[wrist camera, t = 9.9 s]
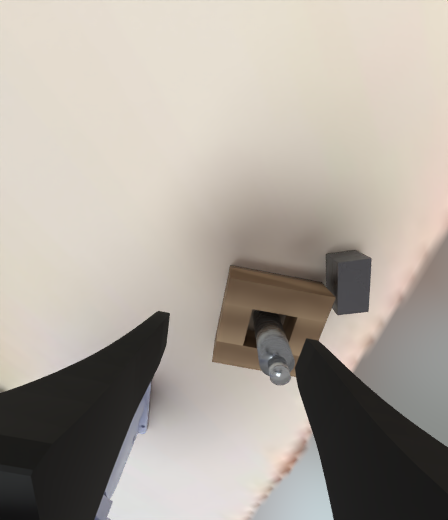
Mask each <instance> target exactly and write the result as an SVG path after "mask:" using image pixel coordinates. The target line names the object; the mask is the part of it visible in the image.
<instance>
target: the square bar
mask: <svg viewBox="0 0 448 520" xmlns="http://www.w3.org/2000/svg"><path fill="white" fill-rule="evenodd" d="M370 276H371V258H370V257H368V256H366V255H364V254H362V253H360V252H358V251H356V250H351V251H344V252H337V253H330V254H326V288H327V289H328V290H329V291H330V292H331V293H332V294H333V295H334V296H335V297H336V298H335V301H334V303H333V306H332V309H333V310H334V311H335V312H336V314H337V315H343V314H352V313H361V312H368V310H369V293H370Z"/></svg>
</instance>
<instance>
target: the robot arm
mask: <svg viewBox="0 0 448 520" xmlns="http://www.w3.org/2000/svg"><path fill="white" fill-rule="evenodd" d="M169 316H170V313H166V312H161V311H158V312H156V313H155V314H153V315H152V316H151V317H149V318H148V319H147V320H145V321H144V322H143V323H141V324H140V325H139V326H137V327H136V328H135V329H133V330H132V331H130V332H129V333H127V334H126V335H125V336H123V337H121V338H120V339H118V340H117V341H115V342H114V343H112V344H110V345H109V346H107V347H105V348H104V349H102V350H100V351H99V352H97V353H95V354H93V355H91V356H89V357H87V358H85V359H83V360H81V361H79V362H77V363H75V364H73V365H71V366H68V367H66V368H64V369H62V370H60V371H58V372H55V373H53V374H50V375H48V376H46V377H43V378H41V379H38V380H36V381H33V382H30V383H28V384H25V385H23V386H20V387H17V388H14V389H11V390H8V391H5V392H2V393H0V520H110V519H109V518H107V515H108V513H109V510H110V508H111V505H112V501H111V500H110V498H111V496H112V494H113V493H114V491H115V489H116V487H117V484H118V482H119V479H120V477H121V474H122V472H123V469H124V467H125V464H126V462H127V459H128V456H129V454H130V451H131V449H132V446H133V444H134V441H135V439H136V436H137V434H138V433H141V434H144V433H146V431H147V424H148V413H149V401H150V390H151V380H152V378H153V376H154V374H155V372H156V370H157V368H158V366H159V364H160V361H161V358H162V356H163V353H164V350H165V347H166V343H167V334H168V325H169ZM295 373H296V378H297V383H298V388H299V392H300V395H301V398H302V401H303V404H304V407H305V410H306V413H307V416H308V419H309V423H310V426H311V429H312V432H313V435H314V438H315V441H316V444H317V448H318V451H319V455H320V459H321V463H322V467H323V472H324V476H325V480H326V485H327V490H328V494H329V499H330V504H331V508H332V513H333V518H334V520H448V447H447V446H445V445H444V444H442V443H440V442H439V441H438V440H436V439H435V438H433V437H432V436H431V435H429V434H428V433H426V432H425V431H424V430H422V429H421V428H419V427H418V426H416V425H415V424H414V423H412V422H411V421H410V420H408V419H407V418H405V417H404V416H403V415H402V414H400V413H399V412H398V411H397V410H395V409H394V408H393V407H392V406H390V405H389V404H388V403H386V402H385V401H384V400H383V399H381V398H380V397H379V396H378V395H377V394H376V393H375V392H373V391H372V390H371V389H370V388H369V387H368V386H366V385H365V384H364V383H363V382H362V381H361V380H360V379H359V378H358V377H356V376H355V375H354V374H353V373H352V372H351V371H350V370H349V369H348V368H347V367H346V366H345V365H344V364H343V363H342V362H341V361H339V360H338V359H337V358H336V357H335V356H334V355H333V354H332V353H331V352H330V351H329V350H328V349H327V348H326V347H325V346H324V345H323V344H321V343H320V342H319V341H318V340H313V339H308V338H306V340H305V343H304V345H303V348H302V350H301V353H300V356H299V358H298V361H297V364H296V366H295Z"/></svg>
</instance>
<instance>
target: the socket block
mask: <svg viewBox="0 0 448 520" xmlns="http://www.w3.org/2000/svg"><path fill="white" fill-rule="evenodd" d="M335 298H336V297H335V296H334V295H333V294H332V293H331V292H330V291H329V290H328V289H327V288H326V287H325V286H324V284H323V283H322V282H317V281H312V280H306V279H301V278H296V277H290V276H285V275H280V274H274V273H269V272H264V271H258V270H253V269H248V268H242V267H237V266H232V265H230V269H229V274H228V279H227V284H226V288H225V293H224V298H223V303H222V308H221V313H220V318H219V322H218V327H217V332H216V337H215V343H214V351H213V358H212V362H216V363H222V364H227V365H233V366H238V367H244V368H250V369H255V370H261V369H260V366H259V359H258V351H257V344H256V337H255V330H254V323H253V313H254V311H255V310H260V311H266V312H271V313H277V314H279V317H280V320H281V323H282V326H283V329H284V331H285V334H286V337H287V340H288V343H289V346H290V349H291V351H292V354H293V357H294V360H295V366H296V364H297V361H298V358H299V356H300V353H301V350H302V348H303V345H304V343H305V340H306V338H308V339H313V340H319V338H320V335H321V333H322V330H323V328H324V326H325V323H326V321H327V318H328V316H329V313H330V311H331V308H332V306H333V303H334V301H335ZM295 366H294V368H293V370H292V371H291V372H290V375H291V376H294V377H296V373H295ZM261 371H262V370H261Z"/></svg>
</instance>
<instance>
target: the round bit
mask: <svg viewBox="0 0 448 520" xmlns="http://www.w3.org/2000/svg"><path fill="white" fill-rule="evenodd" d="M253 323H254V330H255V337H256V344H257V351H258V359H259V366H260V369H261V370H262V371H263V372H264V373H265V374H266V375H268V376H270V380H271V382H272V383H274V384H276V385H284V384H287V383H288V382H289V381H290V379H291V375H290V372H291V371H292V370H293V368H294V366H295V360H294V357H293V354H292V351H291V349H290V346H289V343H288V340H287V337H286V334H285V331H284V329H283V326H282V323H281V320H280V317H279V314H277V313H271V312H266V311H260V310H255V311H254V313H253Z"/></svg>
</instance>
